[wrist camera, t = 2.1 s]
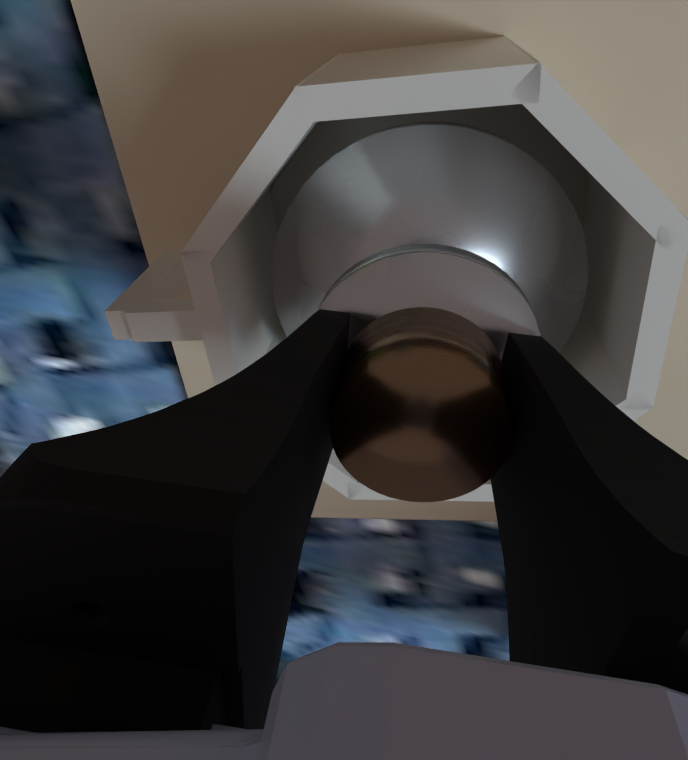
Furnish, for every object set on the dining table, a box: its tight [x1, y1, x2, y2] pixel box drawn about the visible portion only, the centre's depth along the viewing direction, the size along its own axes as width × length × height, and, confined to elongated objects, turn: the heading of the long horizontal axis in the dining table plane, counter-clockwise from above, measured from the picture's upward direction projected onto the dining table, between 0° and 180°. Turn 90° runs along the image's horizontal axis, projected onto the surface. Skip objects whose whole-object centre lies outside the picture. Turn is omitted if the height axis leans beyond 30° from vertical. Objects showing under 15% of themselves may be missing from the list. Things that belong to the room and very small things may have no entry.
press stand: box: [71, 0, 688, 521], centre depth 16 cm, size 24×18×7 cm
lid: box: [271, 121, 589, 502], centre depth 12 cm, size 8×8×6 cm
